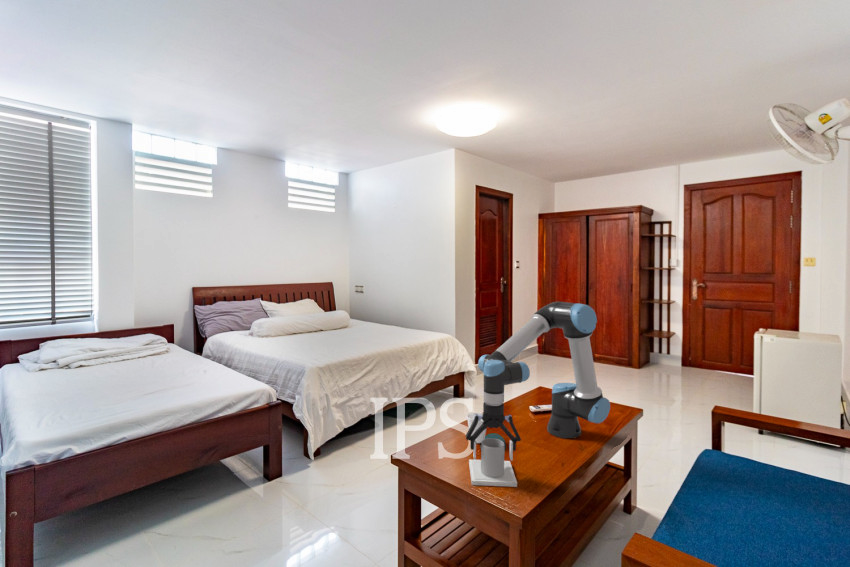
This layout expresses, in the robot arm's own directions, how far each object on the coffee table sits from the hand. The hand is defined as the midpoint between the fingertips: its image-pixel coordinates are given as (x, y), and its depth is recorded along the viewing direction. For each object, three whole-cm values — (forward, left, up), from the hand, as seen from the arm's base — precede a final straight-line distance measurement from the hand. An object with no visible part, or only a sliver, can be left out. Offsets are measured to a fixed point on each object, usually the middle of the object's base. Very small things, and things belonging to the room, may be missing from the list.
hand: (492, 458), depth 152 cm
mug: (-1, 0, -5) cm, 5 cm away
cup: (+3, -29, -6) cm, 30 cm away
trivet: (0, 0, -6) cm, 6 cm away
